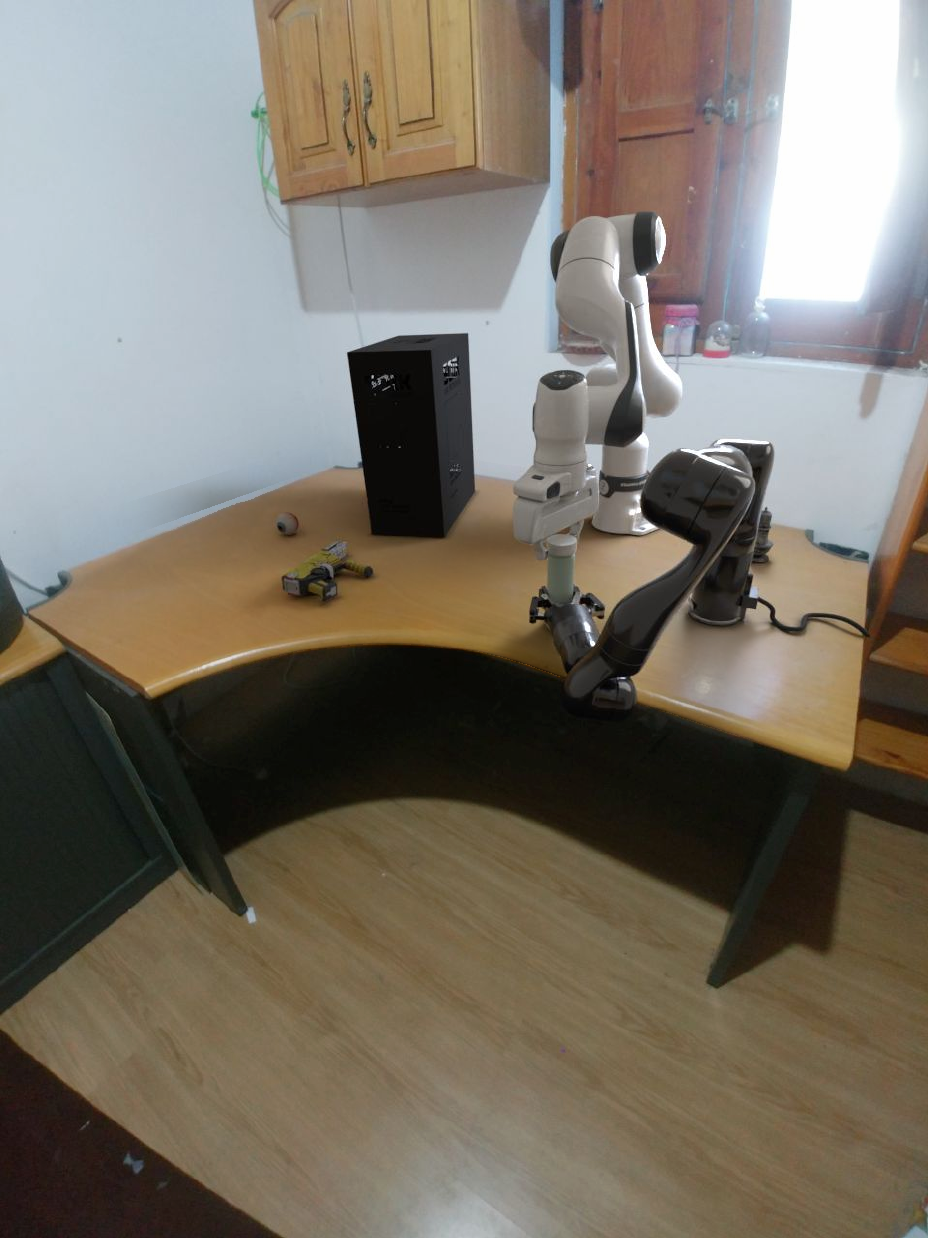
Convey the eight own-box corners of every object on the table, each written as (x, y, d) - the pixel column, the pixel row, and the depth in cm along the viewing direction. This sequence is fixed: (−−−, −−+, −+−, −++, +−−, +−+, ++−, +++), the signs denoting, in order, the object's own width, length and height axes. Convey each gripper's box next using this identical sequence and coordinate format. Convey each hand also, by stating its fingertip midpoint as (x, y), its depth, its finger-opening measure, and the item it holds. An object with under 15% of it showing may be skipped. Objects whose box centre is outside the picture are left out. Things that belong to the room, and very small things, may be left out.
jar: (554, 633, 114) (556, 552, 105) (542, 622, 118) (543, 542, 109) (576, 627, 115) (580, 547, 107) (563, 616, 119) (566, 537, 111)
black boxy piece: (444, 537, 157) (431, 349, 135) (371, 534, 162) (346, 352, 139) (475, 491, 189) (468, 332, 166) (413, 489, 193) (398, 335, 171)
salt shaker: (772, 562, 134) (784, 511, 128) (744, 561, 136) (754, 511, 130) (766, 552, 139) (777, 502, 133) (739, 551, 140) (749, 501, 134)
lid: (558, 558, 105) (559, 548, 104) (540, 548, 109) (540, 538, 108) (582, 551, 108) (583, 540, 107) (564, 541, 112) (564, 531, 111)
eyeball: (273, 537, 164) (268, 516, 161) (287, 528, 169) (282, 508, 166) (291, 539, 161) (286, 518, 158) (305, 530, 166) (301, 510, 163)
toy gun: (389, 548, 145) (334, 537, 149) (339, 588, 125) (277, 575, 129) (389, 566, 147) (335, 555, 151) (340, 608, 127) (279, 595, 131)
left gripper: (580, 458, 110) (577, 529, 117) (506, 487, 98) (507, 564, 105) (610, 463, 106) (605, 537, 113) (536, 494, 94) (535, 574, 101)
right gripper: (619, 613, 99) (595, 568, 114) (532, 619, 99) (519, 574, 114) (616, 651, 103) (593, 603, 117) (532, 657, 103) (520, 608, 117)
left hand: (557, 550), depth 109 cm, fingers open, 8 cm apart
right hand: (557, 589), depth 115 cm, fingers closed on jar, 5 cm apart
